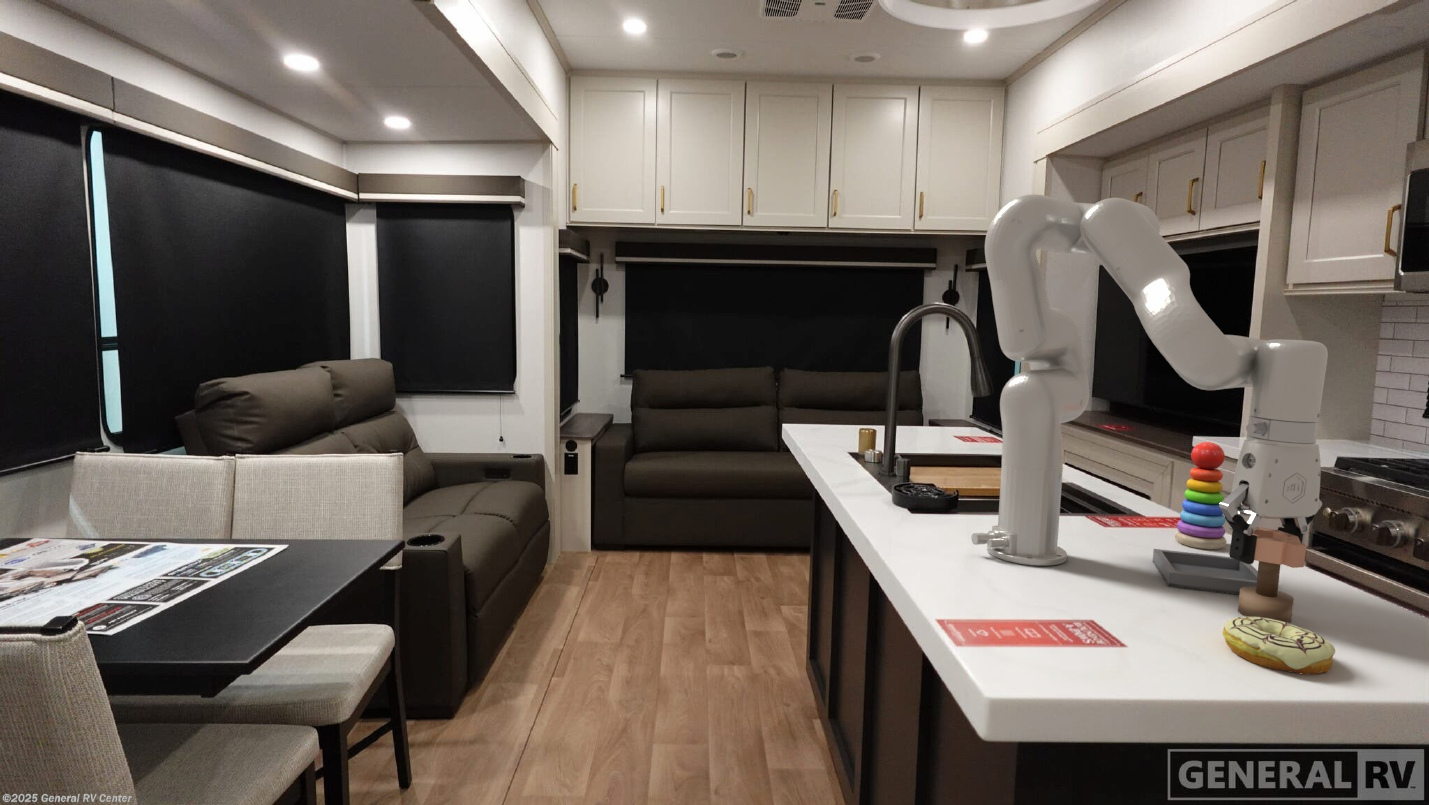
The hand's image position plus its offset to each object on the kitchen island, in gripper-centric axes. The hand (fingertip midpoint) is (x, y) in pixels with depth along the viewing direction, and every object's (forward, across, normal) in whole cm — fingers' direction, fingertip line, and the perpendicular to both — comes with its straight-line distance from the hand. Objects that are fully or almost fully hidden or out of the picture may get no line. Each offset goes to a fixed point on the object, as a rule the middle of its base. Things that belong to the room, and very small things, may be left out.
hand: (1264, 558), depth 105 cm
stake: (+8, 0, -1) cm, 8 cm away
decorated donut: (+8, -11, -12) cm, 18 cm away
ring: (0, 0, 0) cm, 0 cm away
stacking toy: (+9, +20, +29) cm, 37 cm away
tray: (+8, +5, +13) cm, 16 cm away
